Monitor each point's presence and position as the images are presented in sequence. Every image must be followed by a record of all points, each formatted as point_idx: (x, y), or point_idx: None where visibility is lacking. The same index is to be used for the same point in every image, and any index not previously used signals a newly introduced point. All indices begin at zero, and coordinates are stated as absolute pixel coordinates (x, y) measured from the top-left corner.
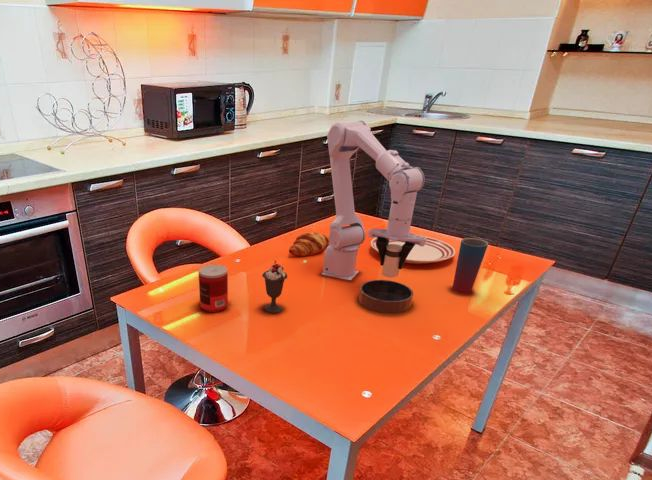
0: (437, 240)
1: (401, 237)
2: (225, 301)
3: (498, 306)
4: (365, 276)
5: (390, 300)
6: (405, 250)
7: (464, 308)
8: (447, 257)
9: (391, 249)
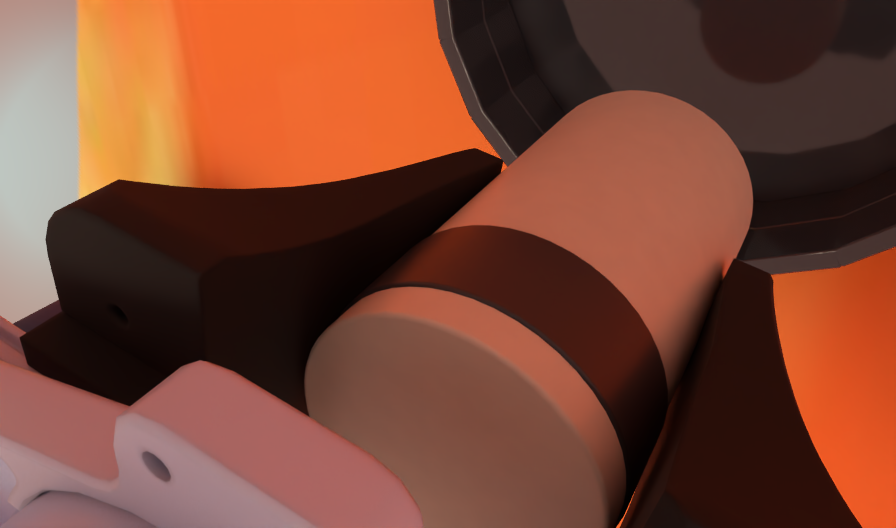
0: None
1: (63, 488)
2: None
3: (81, 94)
4: (870, 507)
5: (675, 5)
6: (207, 216)
7: (190, 25)
8: None
9: (498, 346)
